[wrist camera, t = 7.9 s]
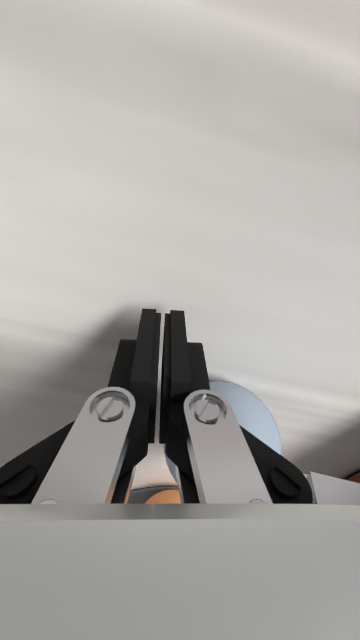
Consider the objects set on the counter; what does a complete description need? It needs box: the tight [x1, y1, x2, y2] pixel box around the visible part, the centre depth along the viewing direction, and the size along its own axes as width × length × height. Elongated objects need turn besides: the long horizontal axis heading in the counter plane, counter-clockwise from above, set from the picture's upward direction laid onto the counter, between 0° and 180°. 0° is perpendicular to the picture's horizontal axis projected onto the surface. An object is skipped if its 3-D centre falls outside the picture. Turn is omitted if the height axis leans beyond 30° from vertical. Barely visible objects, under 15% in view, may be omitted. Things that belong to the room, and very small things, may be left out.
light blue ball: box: [164, 381, 281, 484], centre depth 13 cm, size 6×6×6 cm
